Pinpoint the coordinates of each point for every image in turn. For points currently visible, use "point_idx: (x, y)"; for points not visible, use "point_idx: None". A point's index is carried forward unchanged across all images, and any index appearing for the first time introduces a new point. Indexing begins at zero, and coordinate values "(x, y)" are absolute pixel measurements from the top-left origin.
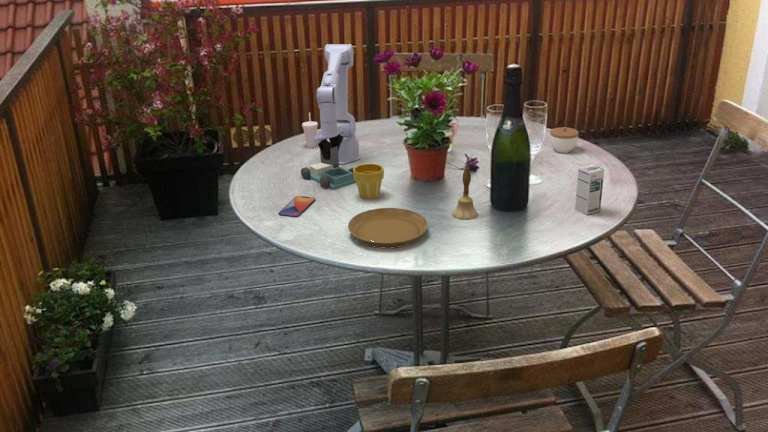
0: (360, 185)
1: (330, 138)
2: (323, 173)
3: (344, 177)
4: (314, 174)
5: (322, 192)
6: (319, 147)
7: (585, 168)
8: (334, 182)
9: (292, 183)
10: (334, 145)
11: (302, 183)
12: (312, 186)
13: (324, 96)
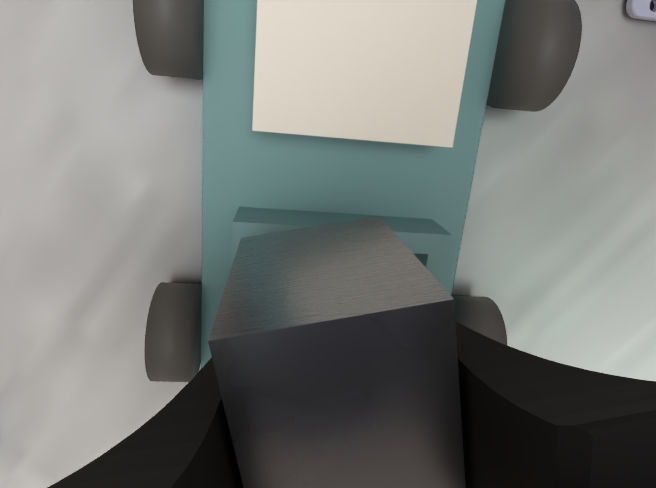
0: None
1: (533, 472)
2: (232, 261)
3: None
4: (253, 77)
5: (117, 367)
6: (117, 452)
7: None
8: None
9: (9, 32)
10: (452, 477)
11: (89, 107)
12: (122, 226)
13: None
